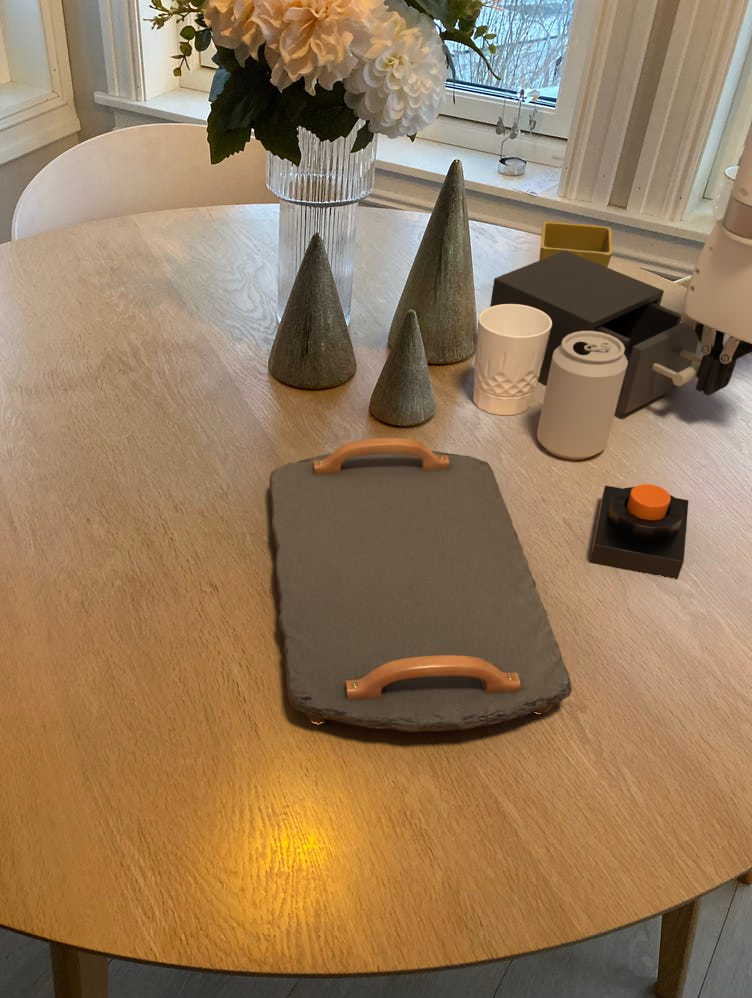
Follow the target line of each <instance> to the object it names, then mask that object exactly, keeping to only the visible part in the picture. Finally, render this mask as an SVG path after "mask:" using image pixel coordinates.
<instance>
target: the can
mask: <svg viewBox="0 0 752 998" xmlns="http://www.w3.org/2000/svg"><path fill="white" fill-rule="evenodd" d="M624 350H625V347H624V345H623V343H622V342H621V341H620V340H618V339H617V338H615V337H613V336H611V335H609V334H605V333H602V332H596V331H579V332H574V333H571V334H569V335H567V336H566V337H565V338H563V340H562V343H561V345H560V346H559V347H558V348H557V349H555V350H554V353H553V356H552V361H551V366H550V371H549V376H548V381H547V385H545V386H546V387H545V392H544V397H543V402H542V407H541V411H540V416H539V421H538V427H537V431H536V437H537V440H538V442H539V443H540V445H542V447H544V449H545V450H546V451H547V452H549V453H550V454H551V455H553V456H555V457H558V458H561V459H566V460H570V461H572V460H573V461H579V460H585V459H589V458H591V457H593V456H595V455H597V454H600V453H602V452H603V451H604V450H605V449H606V448H607V446H608V445H607V444H608V441H609V437H610V434H611V430H612V426H613V422H614V417H615V414H616V411H617V406H618V402H619V399H620V397H619V395H620V391H621V387H622V384H623V380H624V376H625V372H626V368H627V364H628V361H627V358H626V356H625V355H624Z"/></svg>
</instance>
